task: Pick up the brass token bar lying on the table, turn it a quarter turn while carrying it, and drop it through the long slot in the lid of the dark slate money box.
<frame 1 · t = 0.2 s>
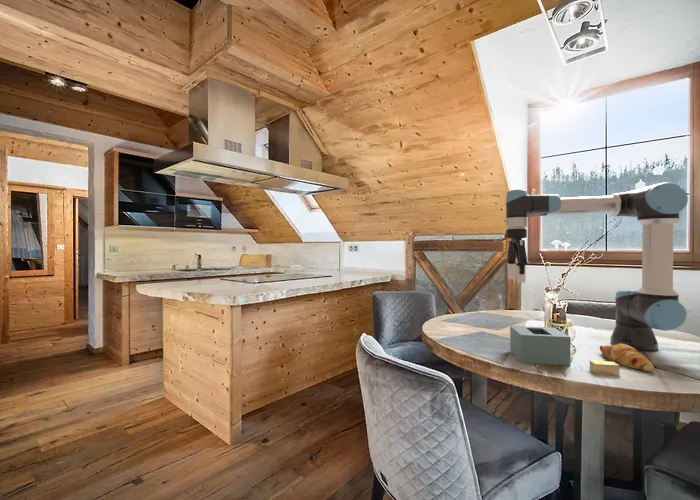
hand: (516, 280, 136), 28 cm above the table, tool pointing down, fingers open, 13 cm apart
croissant: (624, 363, 119), on the table
coin box: (538, 357, 125), on the table
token: (604, 373, 110), on the table
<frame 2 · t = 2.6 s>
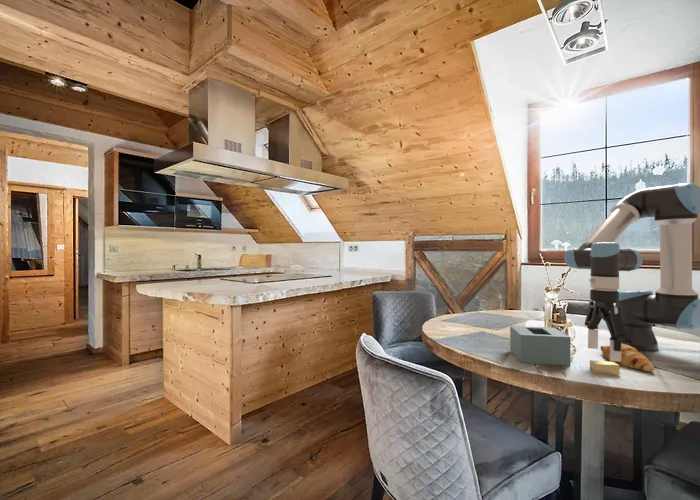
hand: (603, 354, 110), 6 cm above the table, tool pointing down, fingers open, 13 cm apart
nothing on the table moved.
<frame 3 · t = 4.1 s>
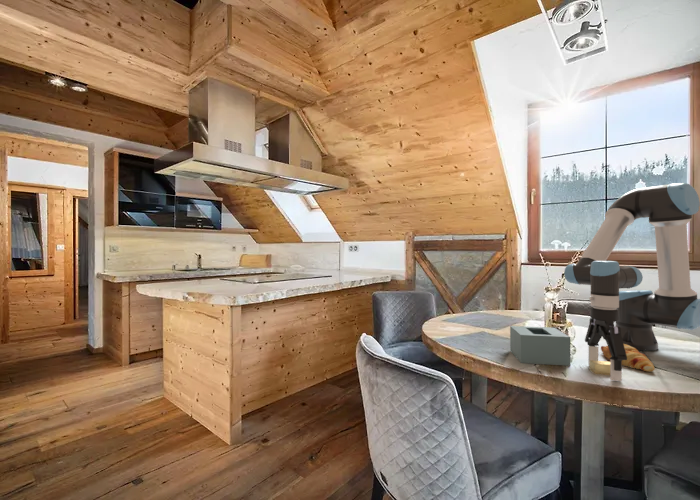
hand: (603, 372, 110), 0 cm above the table, tool pointing down, fingers open, 13 cm apart
nothing on the table moved.
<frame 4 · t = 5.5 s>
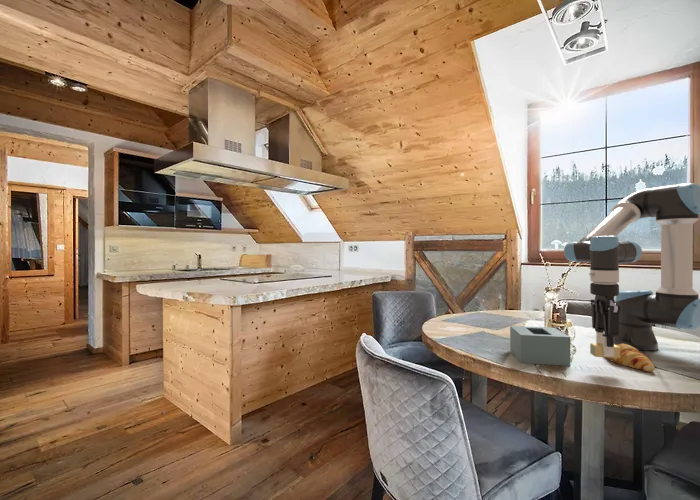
hand: (605, 353, 110), 6 cm above the table, tool pointing down, fingers closed on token, 3 cm apart
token: (604, 355, 110), point 6 cm above the table, touching gripper
everything else where it was.
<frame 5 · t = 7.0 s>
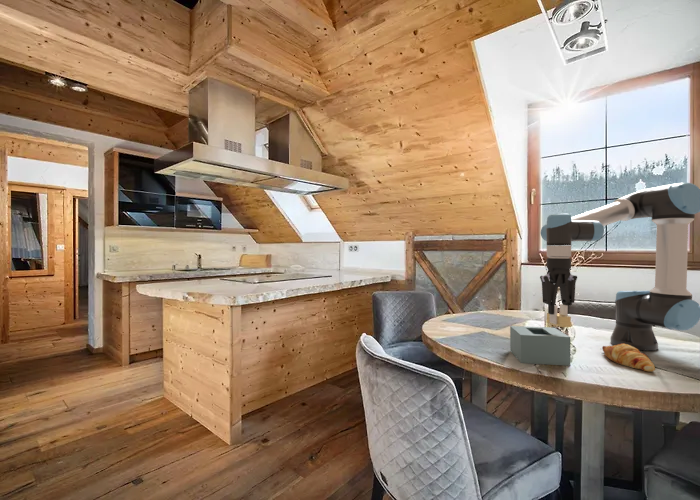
hand: (558, 323, 120), 14 cm above the table, tool pointing down, fingers closed on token, 3 cm apart
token: (558, 324, 120), point 14 cm above the table, touching gripper
everything else where it was.
when the fingers open (11 cm above the table, at t = 8.7 s): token drops 10 cm, resting on coin box.
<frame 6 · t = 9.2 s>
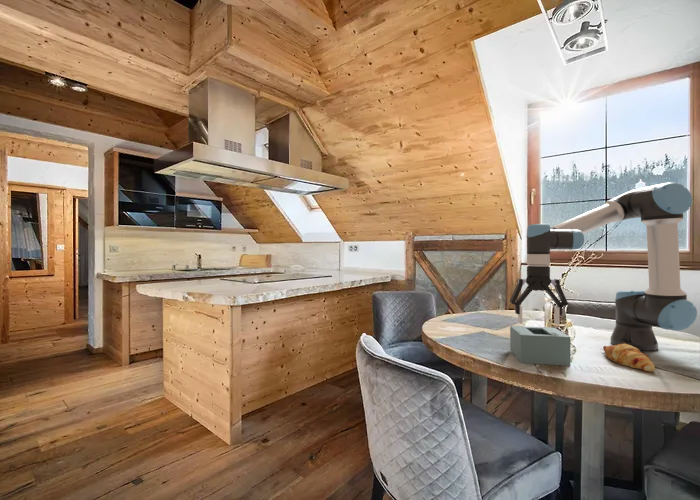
hand: (538, 323, 125), 13 cm above the table, tool pointing down, fingers open, 12 cm apart
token: (538, 355, 125), point 1 cm above the table, touching coin box
everything else where it was.
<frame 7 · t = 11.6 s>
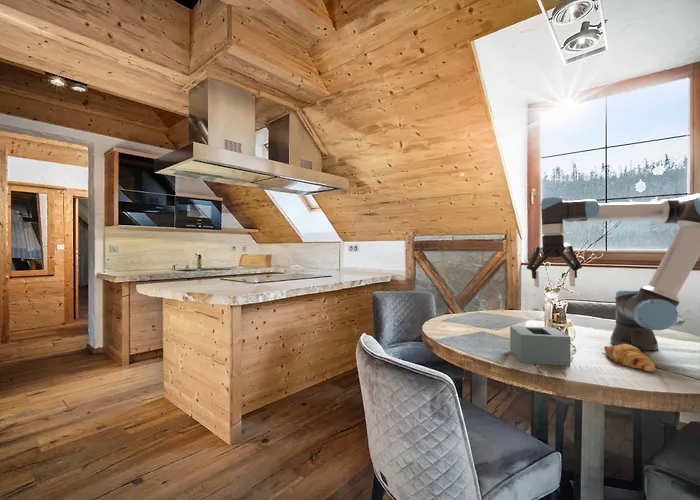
hand: (554, 286, 138), 25 cm above the table, tool pointing down, fingers open, 13 cm apart
nothing on the table moved.
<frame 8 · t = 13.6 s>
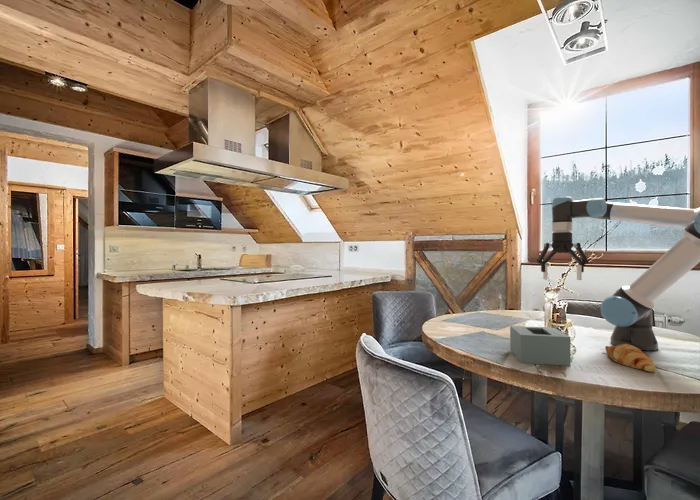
hand: (562, 279, 149), 27 cm above the table, tool pointing down, fingers open, 13 cm apart
at the end: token inside the target area on the coin box (0.1 cm from its centre), point 0.8 cm above the coin box's base; the gripper is holding nothing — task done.
